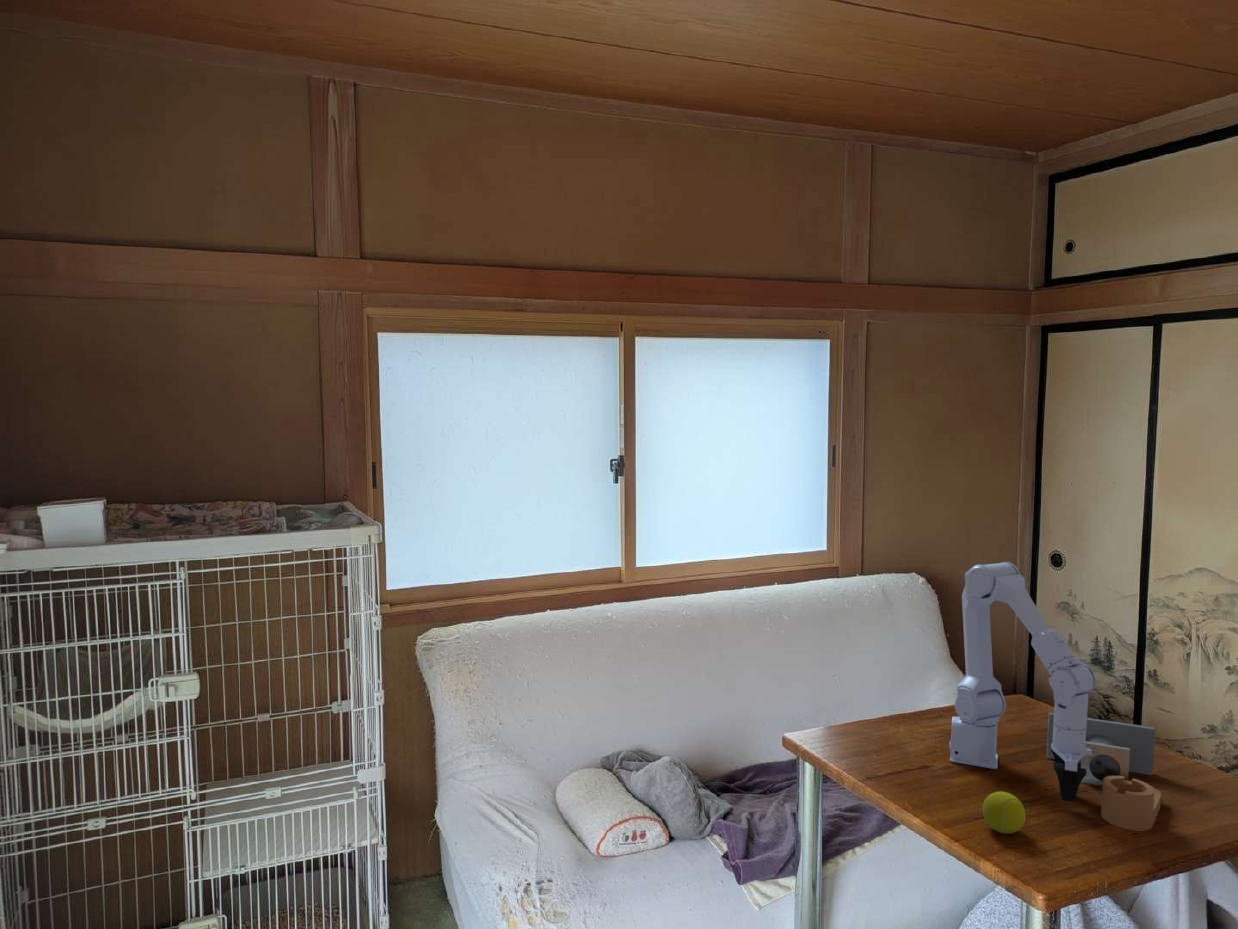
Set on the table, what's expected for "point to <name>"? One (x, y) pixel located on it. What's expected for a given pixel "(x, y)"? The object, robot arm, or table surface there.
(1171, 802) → the table surface
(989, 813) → the tennis ball
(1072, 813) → the table surface
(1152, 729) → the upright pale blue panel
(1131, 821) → the bracket
